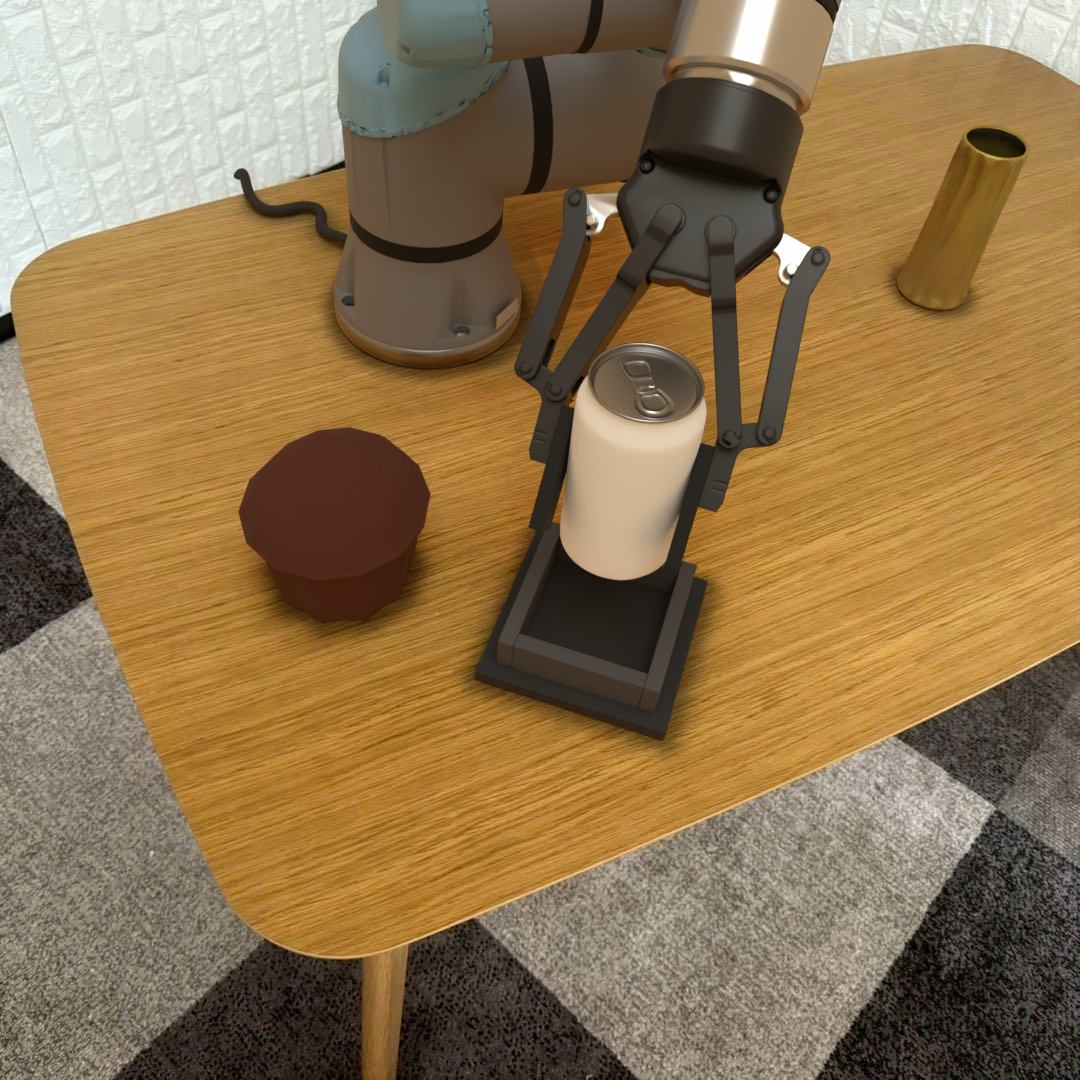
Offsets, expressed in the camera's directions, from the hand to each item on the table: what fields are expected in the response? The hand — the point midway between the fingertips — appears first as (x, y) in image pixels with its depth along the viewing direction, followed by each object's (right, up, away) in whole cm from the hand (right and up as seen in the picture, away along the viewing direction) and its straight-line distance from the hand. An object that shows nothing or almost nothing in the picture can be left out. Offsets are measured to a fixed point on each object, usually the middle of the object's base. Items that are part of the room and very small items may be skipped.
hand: (605, 547), depth 53 cm
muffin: (-16, -2, +14) cm, 22 cm away
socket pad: (0, -6, +12) cm, 14 cm away
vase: (+31, +23, +38) cm, 54 cm away
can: (+1, 0, +5) cm, 5 cm away
